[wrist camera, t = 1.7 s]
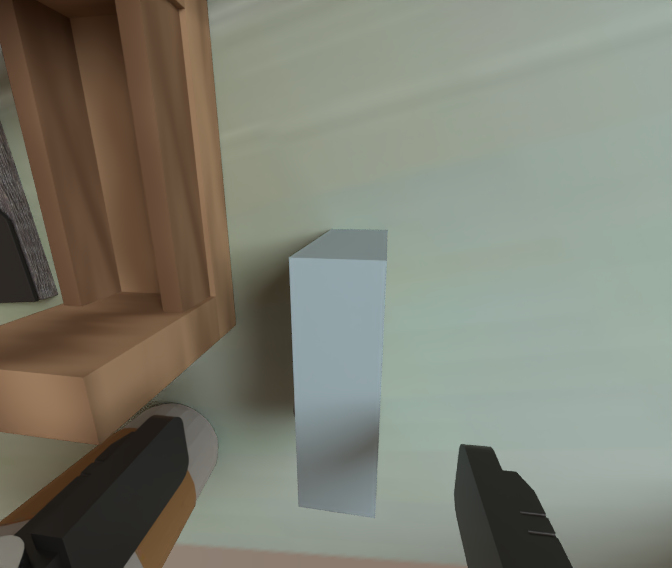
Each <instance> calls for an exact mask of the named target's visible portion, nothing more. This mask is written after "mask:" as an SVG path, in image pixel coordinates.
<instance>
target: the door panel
mask: <svg viewBox="0 0 672 568" xmlns="http://www.w3.org/2000/svg"><path fill="white" fill-rule="evenodd" d="M387 234H388V230H359V229H331V230H329V231H328V232H326V233H325V234H323V235H322V236H320V237H319V238H317V239H316V240H314V241H313V242H311V243H310V244H308V245H307V246H305V247H304V248H302V249H301V250H299V251H298V252H296V253H295V254H293V255H292V256H290V257H289V271H290V297H291V323H292V349H293V374H294V400H295V401H294V416H295V426H296V452H297V478H298V504H299V507H304V508H311V509H318V510H324V511H331V512H338V513H345V514H351V515H358V516H365V517H371V518H375V508H376V486H377V464H378V443H379V421H380V399H381V377H382V355H383V333H384V311H385V290H386V268H387Z"/></svg>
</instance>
